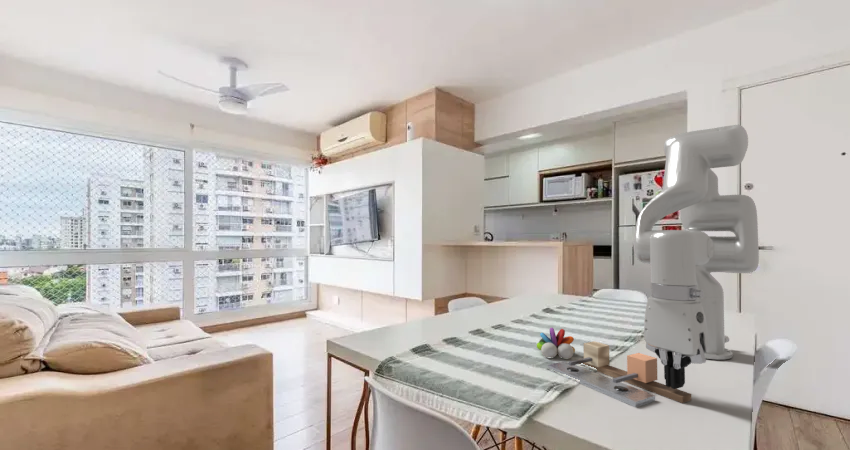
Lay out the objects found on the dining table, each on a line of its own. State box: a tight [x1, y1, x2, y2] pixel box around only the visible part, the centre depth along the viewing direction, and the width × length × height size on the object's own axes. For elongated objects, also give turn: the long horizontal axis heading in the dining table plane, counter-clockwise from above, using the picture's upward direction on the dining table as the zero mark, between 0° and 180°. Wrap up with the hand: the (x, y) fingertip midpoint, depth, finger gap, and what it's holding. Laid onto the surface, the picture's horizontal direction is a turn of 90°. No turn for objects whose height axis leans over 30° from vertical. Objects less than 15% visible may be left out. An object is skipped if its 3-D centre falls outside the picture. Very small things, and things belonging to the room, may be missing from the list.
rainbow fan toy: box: [536, 327, 576, 359], centre depth 99 cm, size 8×10×7 cm
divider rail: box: [567, 340, 692, 404], centre depth 80 cm, size 11×24×6 cm, turn 27°
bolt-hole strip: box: [546, 360, 656, 408], centre depth 80 cm, size 6×22×1 cm, turn 27°
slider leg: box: [612, 352, 658, 383], centre depth 77 cm, size 11×4×4 cm, turn 117°
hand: (674, 386), depth 73 cm, fingers closed
